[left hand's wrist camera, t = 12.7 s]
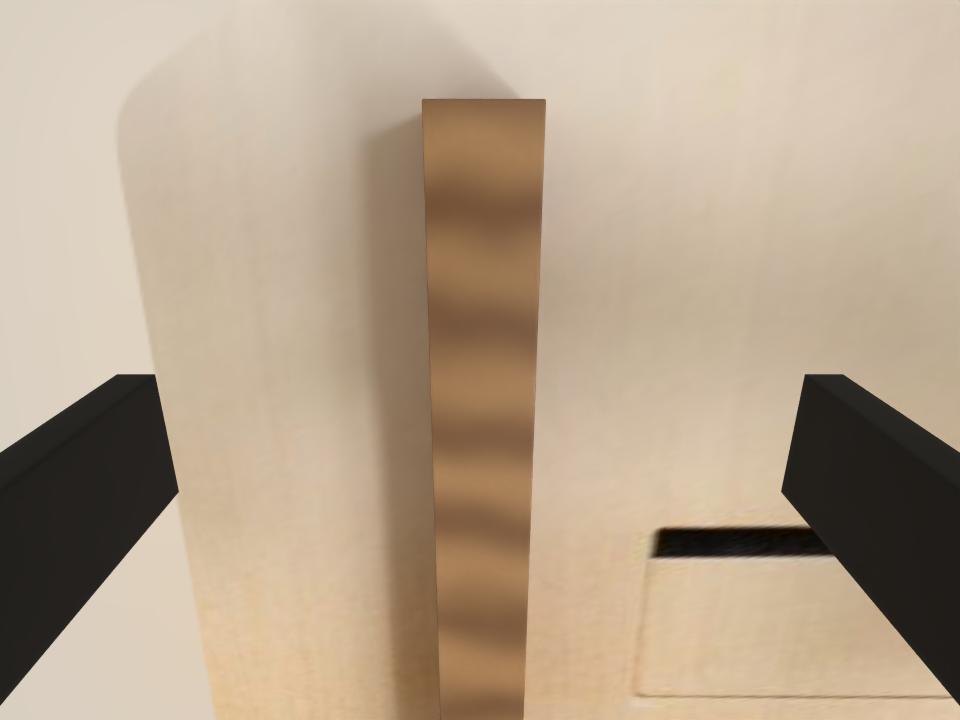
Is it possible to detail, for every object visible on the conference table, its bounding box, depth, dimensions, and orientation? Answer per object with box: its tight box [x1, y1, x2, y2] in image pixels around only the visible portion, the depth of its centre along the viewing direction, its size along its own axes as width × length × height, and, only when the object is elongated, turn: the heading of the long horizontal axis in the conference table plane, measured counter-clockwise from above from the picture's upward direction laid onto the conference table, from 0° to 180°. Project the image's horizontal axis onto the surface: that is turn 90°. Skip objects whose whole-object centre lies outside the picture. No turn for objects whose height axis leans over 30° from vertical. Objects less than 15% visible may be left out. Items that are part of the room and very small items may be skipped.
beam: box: [422, 99, 546, 720], centre depth 41 cm, size 76×5×8 cm, turn 0°
